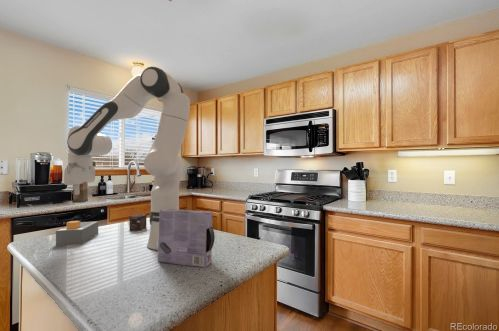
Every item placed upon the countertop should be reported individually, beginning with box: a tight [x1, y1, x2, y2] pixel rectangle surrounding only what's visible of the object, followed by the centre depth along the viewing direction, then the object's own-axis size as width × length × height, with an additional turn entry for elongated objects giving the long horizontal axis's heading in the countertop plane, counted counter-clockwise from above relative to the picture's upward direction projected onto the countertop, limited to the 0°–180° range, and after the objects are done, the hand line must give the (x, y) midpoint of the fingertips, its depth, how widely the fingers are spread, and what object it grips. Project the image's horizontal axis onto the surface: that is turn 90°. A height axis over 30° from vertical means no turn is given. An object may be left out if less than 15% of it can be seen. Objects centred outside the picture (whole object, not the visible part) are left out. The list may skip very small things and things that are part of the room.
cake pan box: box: [157, 209, 215, 269], centre depth 84 cm, size 19×5×18 cm, turn 74°
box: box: [129, 213, 147, 232], centre depth 129 cm, size 6×6×7 cm
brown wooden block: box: [72, 182, 89, 204], centre depth 112 cm, size 4×4×10 cm
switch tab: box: [65, 220, 81, 229], centre depth 108 cm, size 4×3×2 cm
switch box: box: [55, 220, 99, 246], centre depth 112 cm, size 10×16×6 cm, turn 10°
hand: (80, 193), depth 112 cm, fingers closed on brown wooden block, 4 cm apart
